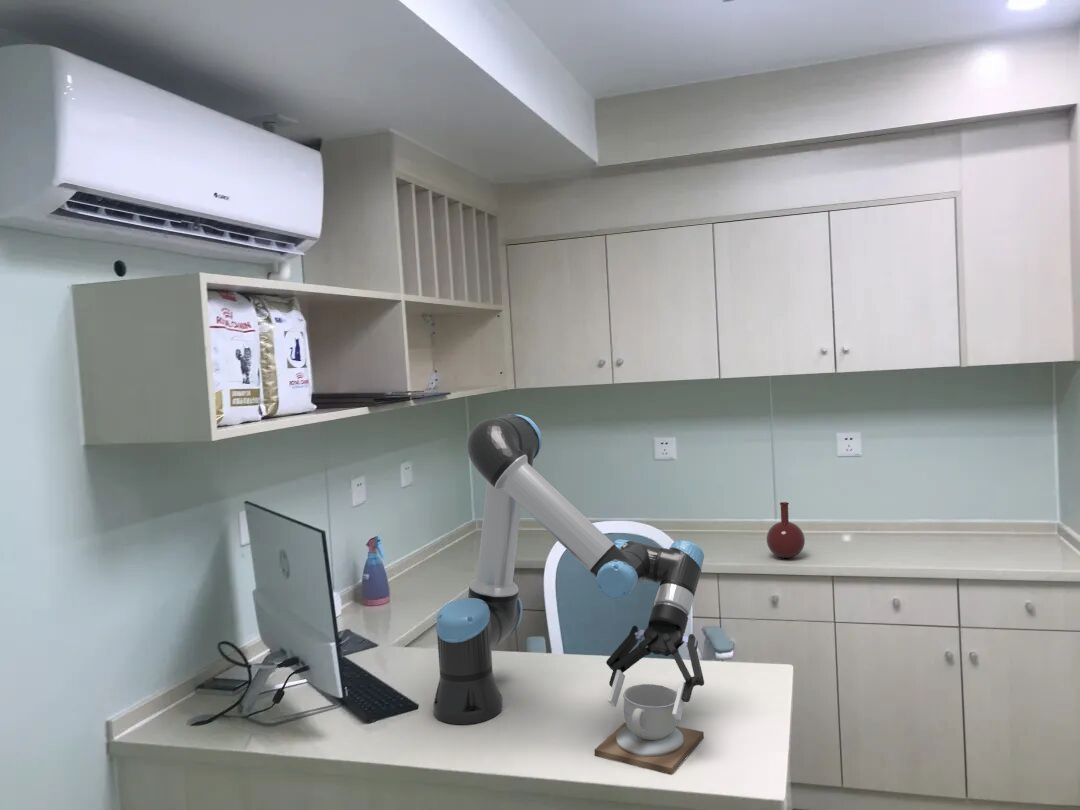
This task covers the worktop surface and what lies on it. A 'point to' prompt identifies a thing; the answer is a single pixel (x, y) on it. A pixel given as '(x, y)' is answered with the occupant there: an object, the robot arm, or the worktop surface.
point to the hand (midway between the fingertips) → (643, 710)
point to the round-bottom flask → (785, 536)
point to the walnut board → (650, 748)
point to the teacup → (650, 711)
